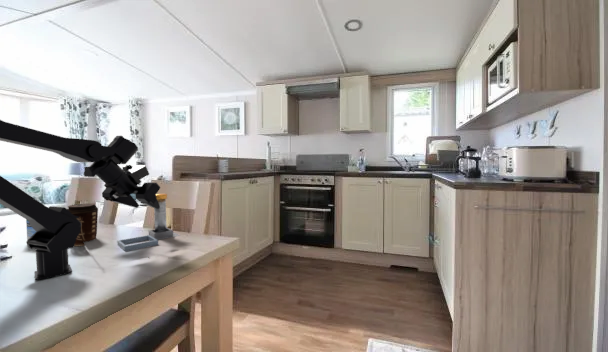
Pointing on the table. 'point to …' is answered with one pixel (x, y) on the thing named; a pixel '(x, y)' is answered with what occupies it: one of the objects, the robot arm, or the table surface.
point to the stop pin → (160, 214)
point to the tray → (136, 246)
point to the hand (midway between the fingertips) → (148, 207)
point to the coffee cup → (85, 221)
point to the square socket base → (162, 234)
